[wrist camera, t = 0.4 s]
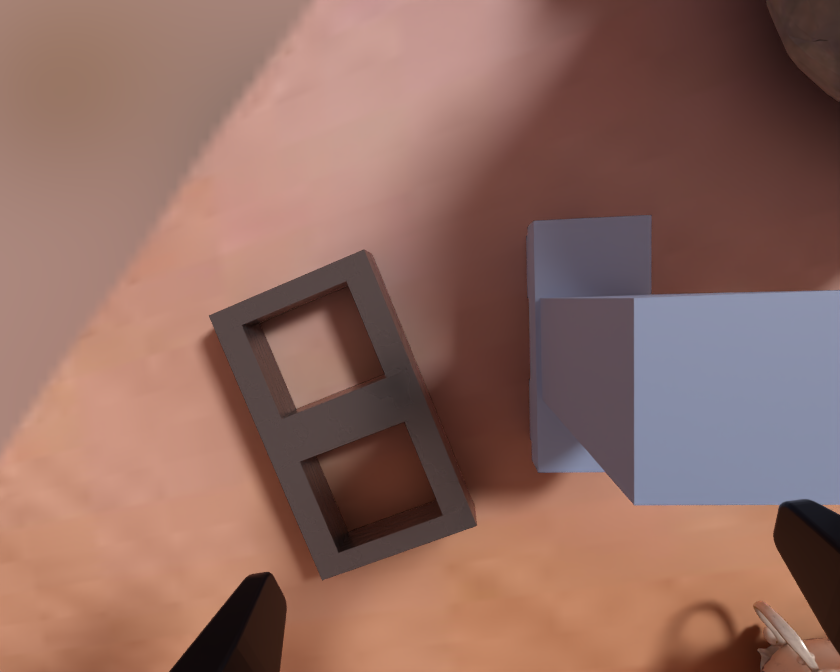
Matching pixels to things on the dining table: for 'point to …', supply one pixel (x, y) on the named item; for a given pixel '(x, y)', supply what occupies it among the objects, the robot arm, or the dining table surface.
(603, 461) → the blue-gray inverted t block
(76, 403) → the dining table surface
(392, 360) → the rail
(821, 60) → the vessel
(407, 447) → the dining table surface
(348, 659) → the dining table surface
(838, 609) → the robot arm
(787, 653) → the chinaware
